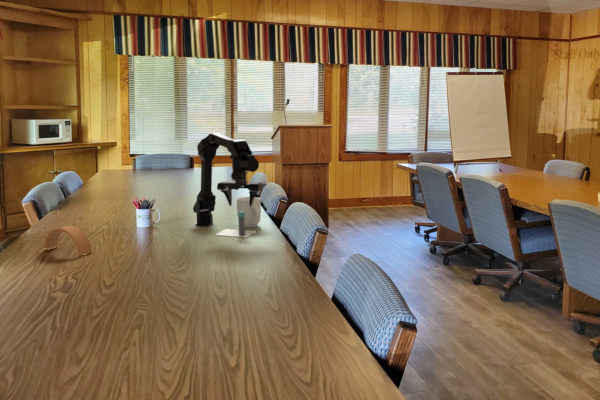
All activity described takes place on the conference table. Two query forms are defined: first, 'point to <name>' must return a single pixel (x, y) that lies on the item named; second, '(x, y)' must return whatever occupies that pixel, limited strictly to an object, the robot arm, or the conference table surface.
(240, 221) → the marker
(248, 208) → the mug
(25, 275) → the conference table surface
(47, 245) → the arch
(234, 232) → the paper
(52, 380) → the conference table surface
